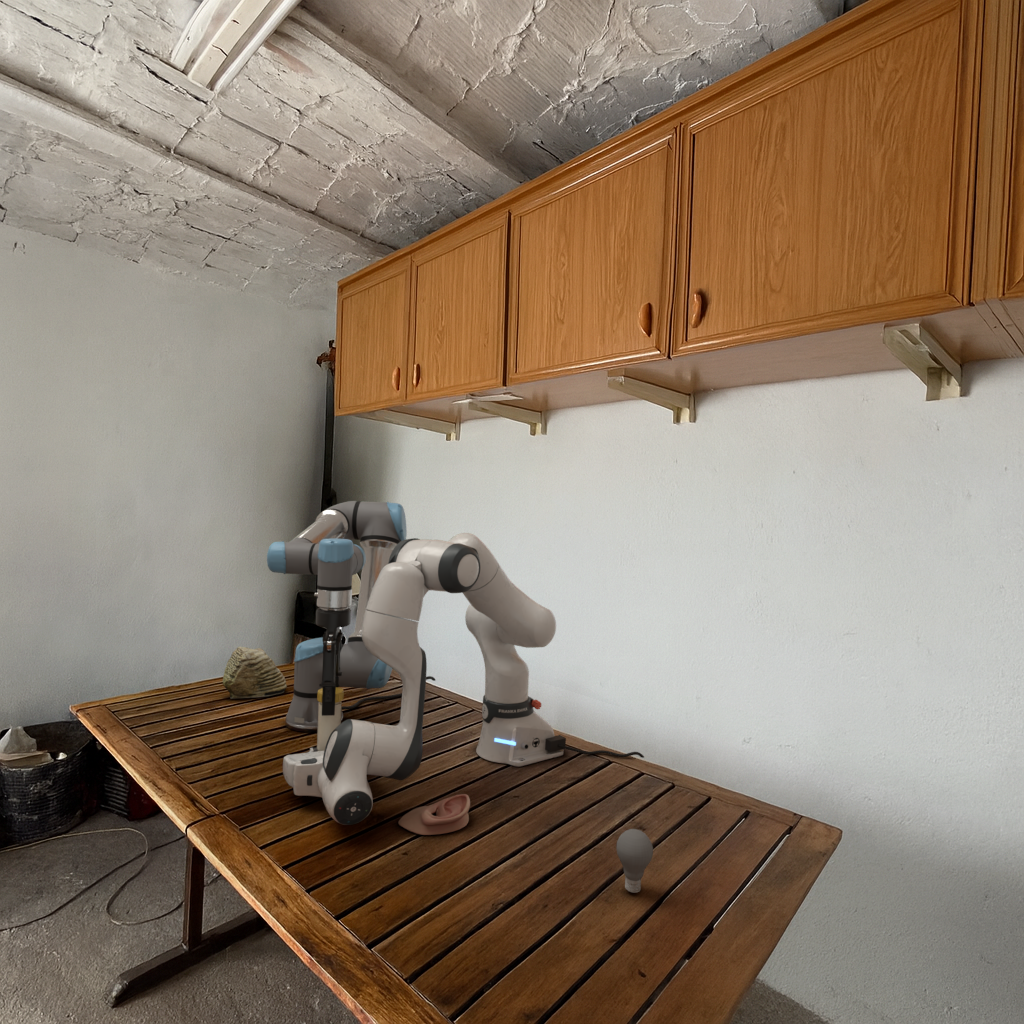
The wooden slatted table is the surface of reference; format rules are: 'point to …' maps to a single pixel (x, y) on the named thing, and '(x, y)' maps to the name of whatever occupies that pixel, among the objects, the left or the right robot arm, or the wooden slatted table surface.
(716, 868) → the wooden slatted table surface
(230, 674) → the fossil
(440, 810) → the anatomical model
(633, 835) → the light bulb
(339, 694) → the lid
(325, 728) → the beige cylinder
